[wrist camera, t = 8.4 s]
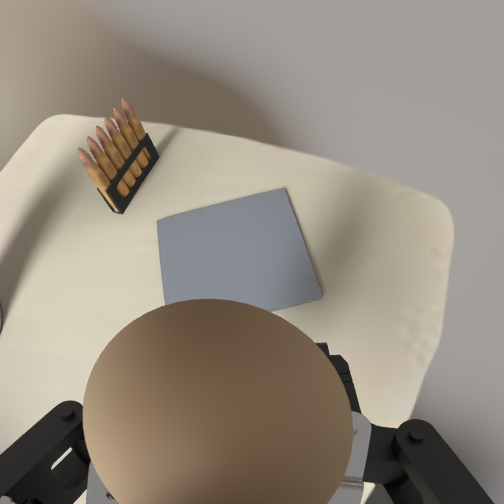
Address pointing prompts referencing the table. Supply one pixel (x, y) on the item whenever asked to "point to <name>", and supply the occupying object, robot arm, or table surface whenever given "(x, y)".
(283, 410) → the tan ribbed cylinder
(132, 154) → the ammunition clip
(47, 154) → the table surface
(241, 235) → the slate mat
